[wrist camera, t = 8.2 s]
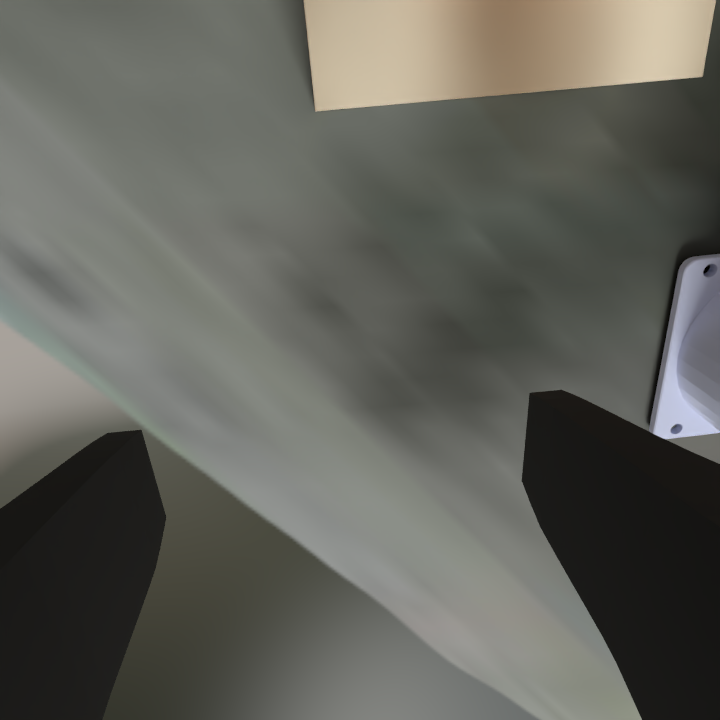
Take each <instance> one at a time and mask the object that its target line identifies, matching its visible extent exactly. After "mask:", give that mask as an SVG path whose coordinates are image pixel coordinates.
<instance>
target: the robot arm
mask: <svg viewBox="0 0 720 720" xmlns="http://www.w3.org/2000/svg"><path fill="white" fill-rule="evenodd" d="M709 264H710V268H709V271H707V272H706V273H705V274H704V273H703V271H704V269H705V267H706V266H707V265H709ZM675 424H676V426H675V427H674V428H672V426H674V425H675ZM671 428H672V429H671ZM649 431H650V432H649ZM649 431H647V430H645V429H643V428H640V427H638V426H636V425H634V424H632V423H630V422H628V421H626V420H624V419H622V418H620V417H619V416H617V415H615V414H613V413H611V412H609V411H607V410H605V409H603V408H601V407H599V406H597V405H594V404H592V403H590V402H588V401H586V400H584V399H582V398H580V397H578V396H575V395H573V394H571V393H568V392H566V391H563V390H556V391H545V392H535V393H530V395H529V406H528V418H527V429H526V440H525V451H524V462H523V473H522V482H523V485H524V488H525V490H526V493H527V495H528V498H529V501H530V503H531V506H532V508H533V510H534V513H535V515H536V518H537V520H538V522H539V525H540V527H541V529H542V531H543V533H544V534H545V536H546V538H547V540H548V542H549V543H550V545H551V547H552V549H553V551H554V552H555V554H556V556H557V558H558V559H559V561H560V563H561V565H562V566H563V568H564V570H565V572H566V573H567V575H568V577H569V579H570V580H571V582H572V584H573V586H574V587H575V589H576V591H577V593H578V594H579V596H580V598H581V600H582V601H583V603H584V605H585V607H586V608H587V610H588V612H589V614H590V615H591V617H592V619H593V620H594V622H595V624H596V626H597V627H598V629H599V631H600V633H601V634H602V636H603V638H604V640H605V642H606V644H607V646H608V648H609V650H610V652H611V653H612V655H613V657H614V659H615V661H616V663H617V665H618V667H619V670H620V672H621V674H622V676H623V678H624V681H625V683H626V685H627V687H628V689H629V692H630V694H631V696H632V698H633V700H634V703H635V705H636V707H637V709H638V712H639V714H640V716H641V718H642V720H720V464H718V463H716V462H713V461H711V460H709V459H706V458H704V457H702V456H700V455H697V454H695V453H693V452H691V451H688V450H686V449H684V448H682V447H680V446H678V445H676V444H673V443H671V442H669V441H667V440H665V439H670V438H679V437H688V436H696V435H705V434H714V433H720V254H713V255H703V256H694V257H690V258H688V259H686V260H685V261H684V262H683V263H682V264H681V266H680V268H679V271H678V276H677V281H676V287H675V292H674V297H673V303H672V308H671V313H670V319H669V324H668V330H667V335H666V340H665V346H664V351H663V356H662V362H661V367H660V372H659V378H658V383H657V389H656V394H655V399H654V405H653V410H652V415H651V421H650V426H649ZM165 521H166V515H165V511H164V508H163V505H162V501H161V497H160V494H159V490H158V487H157V483H156V480H155V476H154V473H153V469H152V466H151V462H150V459H149V455H148V451H147V448H146V444H145V441H144V437H143V434H142V430H135V431H124V432H114V433H107V434H105V435H104V436H102V437H100V438H99V439H97V440H95V441H94V442H92V443H91V444H89V445H88V446H86V447H85V448H84V449H82V450H81V451H79V452H78V453H76V454H75V455H74V456H72V457H71V458H70V459H68V460H67V461H65V463H63V464H61V465H60V466H59V467H57V468H56V469H55V470H53V471H52V472H51V473H49V474H48V475H47V476H45V477H44V478H42V479H41V480H40V481H38V482H37V483H35V484H34V485H33V486H31V487H30V488H29V489H27V490H26V491H24V492H23V493H22V494H20V495H19V496H18V497H16V498H15V499H13V500H12V501H11V502H9V503H8V504H7V505H5V506H4V507H2V508H1V509H0V720H102V719H103V716H104V713H105V709H106V707H107V703H108V700H109V697H110V694H111V691H112V688H113V686H114V683H115V680H116V677H117V675H118V672H119V669H120V666H121V663H122V661H123V658H124V655H125V653H126V650H127V647H128V644H129V642H130V639H131V636H132V633H133V630H134V628H135V625H136V622H137V619H138V617H139V614H140V611H141V608H142V605H143V603H144V600H145V597H146V594H147V591H148V588H149V586H150V583H151V580H152V577H153V574H154V571H155V568H156V563H157V560H158V555H159V551H160V546H161V541H162V536H163V531H164V526H165Z"/></svg>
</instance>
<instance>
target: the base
mask: <svg viewBox="0 0 720 720" xmlns="http://www.w3.org/2000/svg"><path fill="white" fill-rule="evenodd" d="M303 1H304V11H305V20H306V30H307V39H308V49H309V58H310V68H311V77H312V87H313V96H314V105H315V111H325V110H336V109H347V108H359V107H370V106H381V105H392V104H404V103H415V102H426V101H438V100H449V99H460V98H471V97H483V96H494V95H505V94H517V93H528V92H539V91H550V90H562V89H573V88H584V87H596V86H607V85H618V84H629V83H640V82H651V81H662V80H673V79H684V78H695V77H702V76H703V70H704V65H705V59H706V53H707V48H708V42H709V37H710V31H711V25H712V20H713V14H714V8H715V3H716V0H303Z"/></svg>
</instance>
